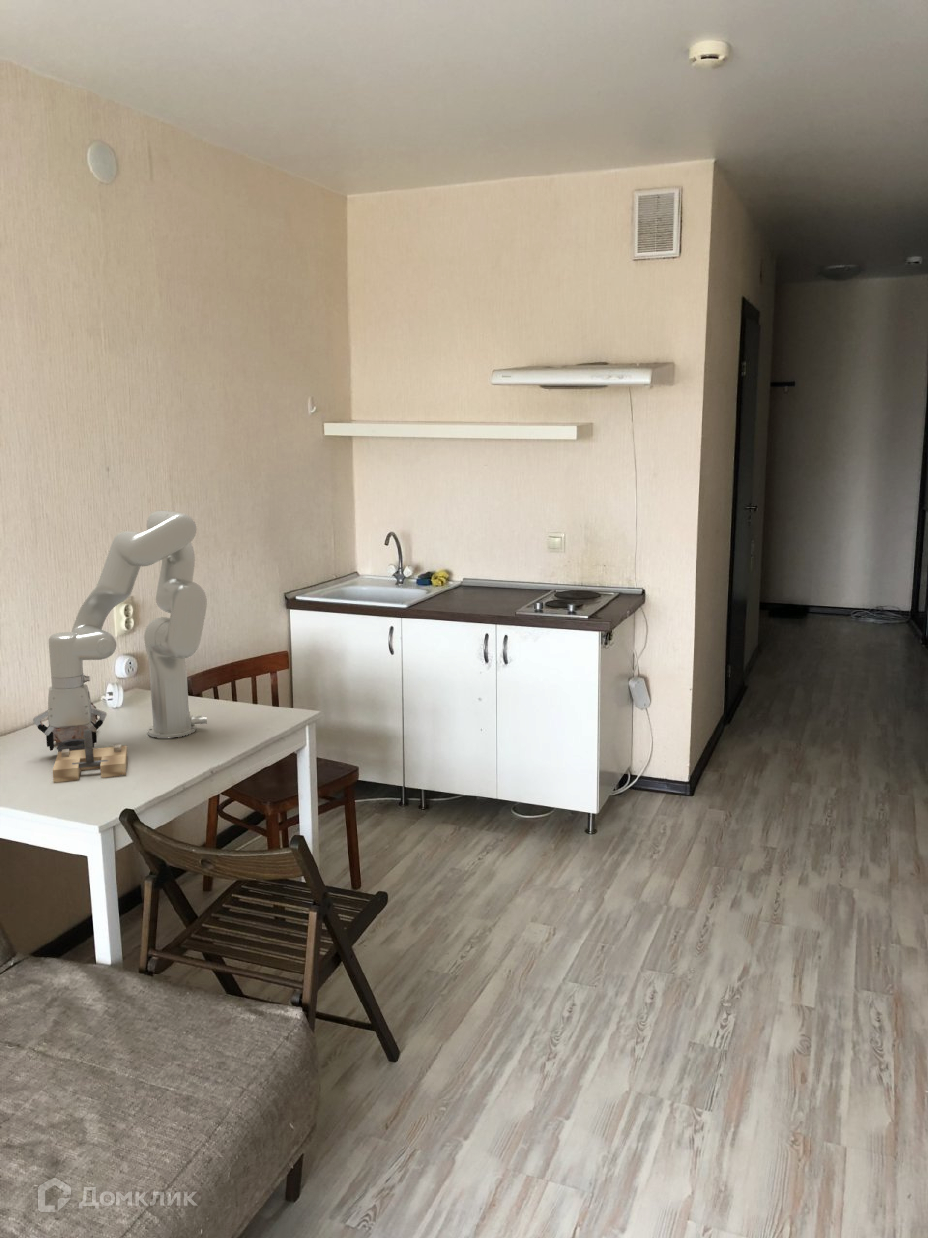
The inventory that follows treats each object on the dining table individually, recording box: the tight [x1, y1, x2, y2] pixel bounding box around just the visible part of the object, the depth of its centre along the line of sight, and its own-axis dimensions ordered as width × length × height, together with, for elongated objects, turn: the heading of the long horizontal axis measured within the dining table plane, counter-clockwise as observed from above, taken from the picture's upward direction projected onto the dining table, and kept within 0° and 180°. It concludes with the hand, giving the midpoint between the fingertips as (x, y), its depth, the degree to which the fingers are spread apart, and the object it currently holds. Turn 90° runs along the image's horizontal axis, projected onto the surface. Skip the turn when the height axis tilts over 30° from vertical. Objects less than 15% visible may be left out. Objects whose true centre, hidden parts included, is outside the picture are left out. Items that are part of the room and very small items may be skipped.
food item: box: [52, 704, 97, 744], centre depth 263 cm, size 14×8×10 cm, turn 178°
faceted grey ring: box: [57, 739, 85, 753], centre depth 250 cm, size 7×7×3 cm
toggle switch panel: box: [52, 729, 128, 783], centre depth 239 cm, size 16×14×11 cm
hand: (72, 747), depth 250 cm, fingers open, 9 cm apart
